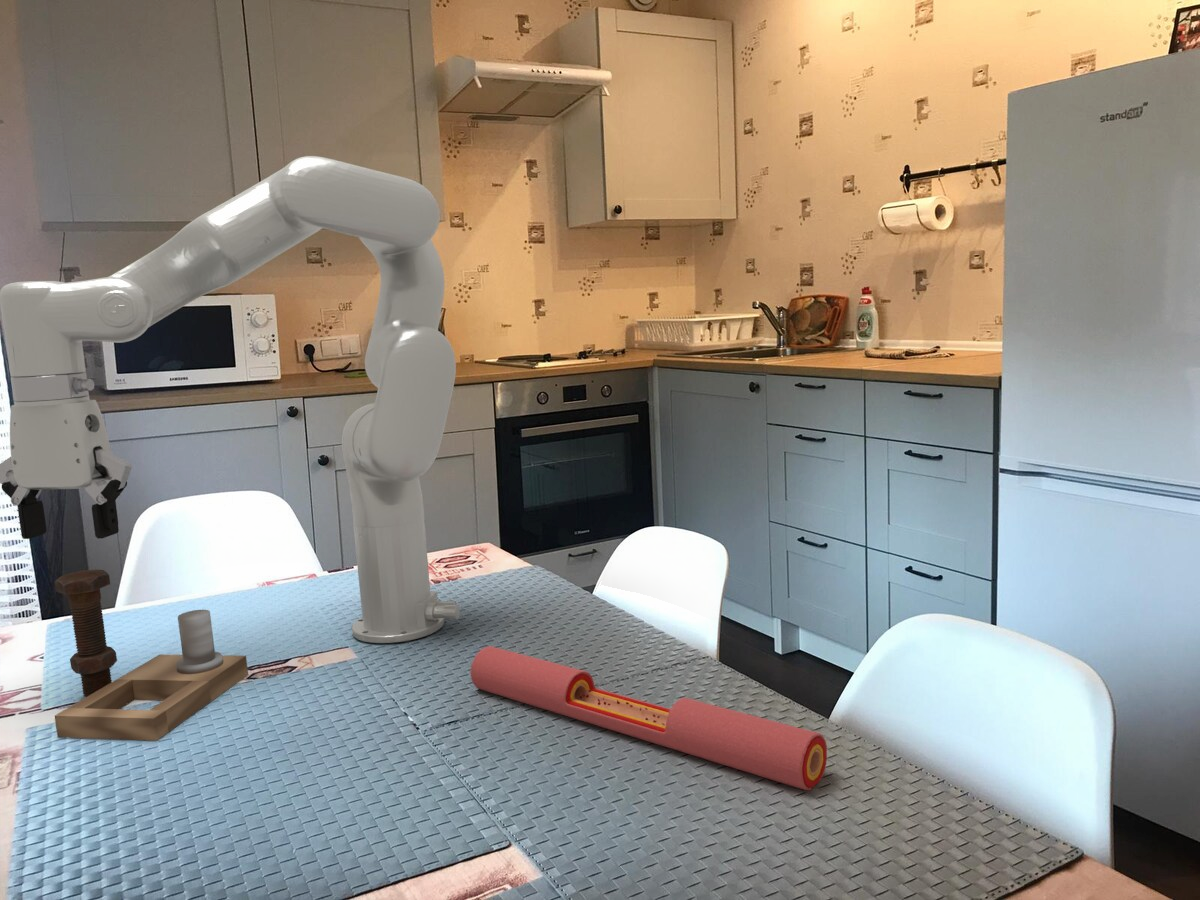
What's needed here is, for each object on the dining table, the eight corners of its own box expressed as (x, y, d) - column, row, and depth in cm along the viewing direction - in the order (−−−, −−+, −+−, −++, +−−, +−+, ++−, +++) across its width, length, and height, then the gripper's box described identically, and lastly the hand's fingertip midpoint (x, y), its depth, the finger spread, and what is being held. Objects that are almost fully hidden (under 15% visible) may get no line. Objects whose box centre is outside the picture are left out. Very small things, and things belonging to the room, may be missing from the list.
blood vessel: (828, 777, 85) (827, 724, 84) (802, 801, 81) (801, 746, 81) (502, 680, 112) (499, 640, 111) (471, 695, 108) (468, 653, 107)
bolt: (99, 706, 110) (81, 582, 108) (62, 704, 111) (44, 582, 109) (133, 686, 116) (117, 568, 113) (97, 685, 117) (81, 568, 115)
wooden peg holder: (248, 674, 117) (240, 605, 116) (156, 740, 100) (145, 659, 99) (161, 673, 120) (152, 605, 118) (57, 737, 102) (45, 658, 101)
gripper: (139, 385, 110) (157, 528, 113) (11, 390, 113) (31, 529, 116) (94, 391, 103) (114, 543, 105) (-42, 396, 106) (-19, 544, 108)
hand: (70, 536), depth 111 cm, fingers open, 9 cm apart
